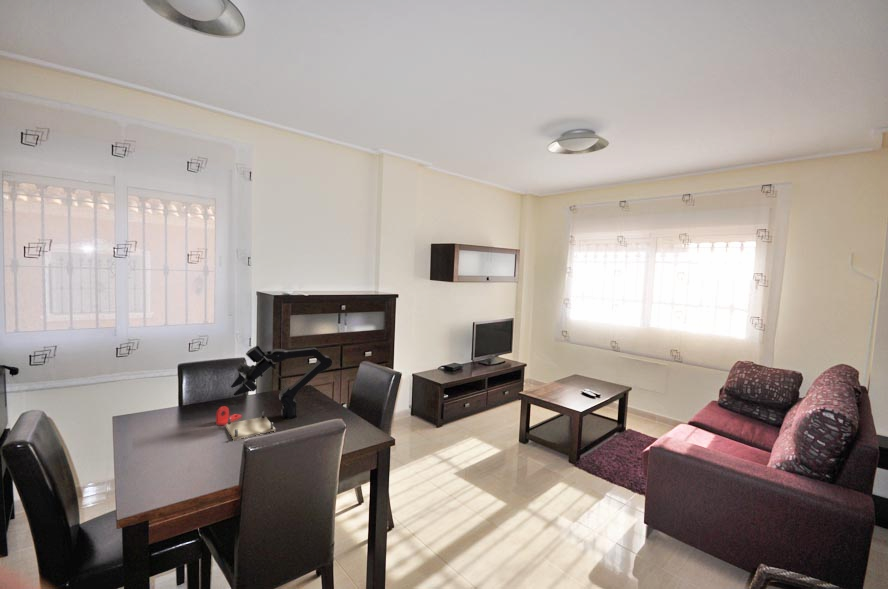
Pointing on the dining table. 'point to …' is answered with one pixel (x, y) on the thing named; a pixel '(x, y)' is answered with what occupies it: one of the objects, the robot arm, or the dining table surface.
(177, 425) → the dining table surface
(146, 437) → the dining table surface
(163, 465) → the dining table surface
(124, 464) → the dining table surface
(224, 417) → the bracket
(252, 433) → the peg board
